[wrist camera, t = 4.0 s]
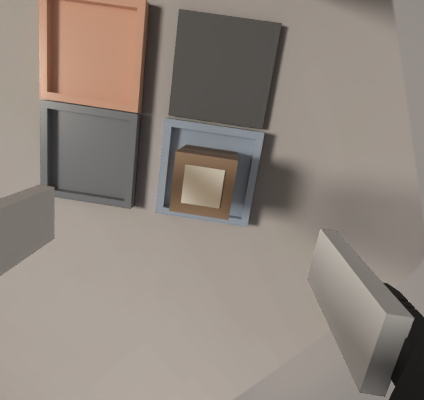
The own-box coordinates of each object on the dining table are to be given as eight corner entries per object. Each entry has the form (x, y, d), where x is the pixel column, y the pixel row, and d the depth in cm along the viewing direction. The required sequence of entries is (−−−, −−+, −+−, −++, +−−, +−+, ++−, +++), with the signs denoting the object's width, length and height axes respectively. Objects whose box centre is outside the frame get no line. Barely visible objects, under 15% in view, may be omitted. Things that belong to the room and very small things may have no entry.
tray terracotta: (46, -10, 28) (38, -16, 27) (149, 4, 28) (146, -1, 26) (47, 99, 30) (39, 98, 29) (141, 112, 30) (137, 112, 29)
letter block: (186, 144, 30) (175, 151, 24) (237, 152, 30) (238, 160, 24) (180, 194, 32) (168, 212, 26) (229, 201, 31) (228, 221, 26)
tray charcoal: (47, 100, 30) (39, 99, 29) (141, 114, 30) (137, 114, 29) (47, 192, 33) (40, 194, 32) (134, 205, 33) (130, 208, 32)
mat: (180, 11, 28) (179, 9, 27) (280, 25, 27) (281, 23, 27) (169, 115, 30) (168, 115, 29) (261, 128, 30) (262, 128, 29)
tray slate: (167, 118, 30) (164, 118, 29) (263, 132, 30) (264, 132, 29) (158, 209, 33) (155, 212, 31) (246, 223, 32) (247, 227, 31)
